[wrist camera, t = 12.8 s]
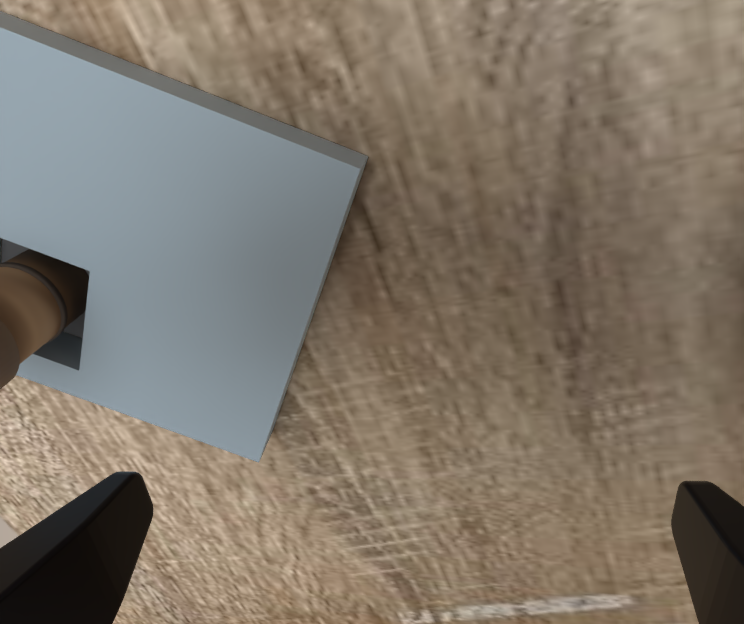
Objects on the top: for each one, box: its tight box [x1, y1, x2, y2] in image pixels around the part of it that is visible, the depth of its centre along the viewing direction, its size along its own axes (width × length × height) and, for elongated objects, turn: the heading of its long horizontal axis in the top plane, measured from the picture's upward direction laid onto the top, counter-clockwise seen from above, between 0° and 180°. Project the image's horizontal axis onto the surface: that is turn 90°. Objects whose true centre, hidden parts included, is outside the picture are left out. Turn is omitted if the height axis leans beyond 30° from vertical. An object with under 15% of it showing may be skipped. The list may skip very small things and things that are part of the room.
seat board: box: [0, 11, 368, 462], centre depth 21 cm, size 16×14×2 cm
